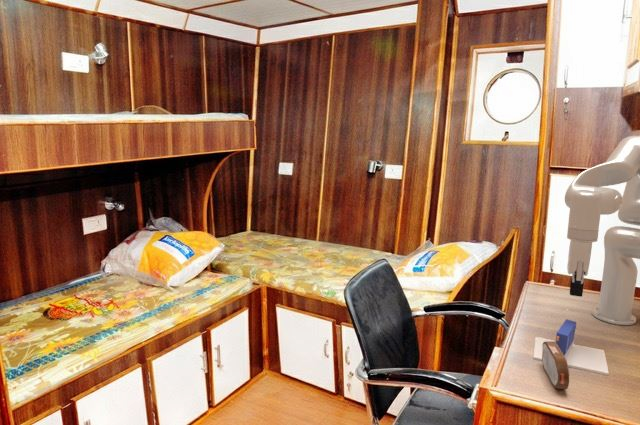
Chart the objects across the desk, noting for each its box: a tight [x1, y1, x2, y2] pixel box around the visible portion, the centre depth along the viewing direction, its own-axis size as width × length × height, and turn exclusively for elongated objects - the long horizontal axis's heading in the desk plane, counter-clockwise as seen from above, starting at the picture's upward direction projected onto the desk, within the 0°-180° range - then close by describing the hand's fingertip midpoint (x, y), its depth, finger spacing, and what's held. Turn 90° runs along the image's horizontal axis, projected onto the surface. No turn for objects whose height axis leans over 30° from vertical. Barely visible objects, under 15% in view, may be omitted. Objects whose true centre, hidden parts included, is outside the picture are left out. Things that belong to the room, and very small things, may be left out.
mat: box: [532, 336, 610, 376], centre depth 130 cm, size 14×18×1 cm
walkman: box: [555, 319, 577, 358], centre depth 129 cm, size 8×3×12 cm
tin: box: [541, 340, 570, 390], centre depth 117 cm, size 15×3×8 cm, turn 168°
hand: (575, 294), depth 133 cm, fingers closed
